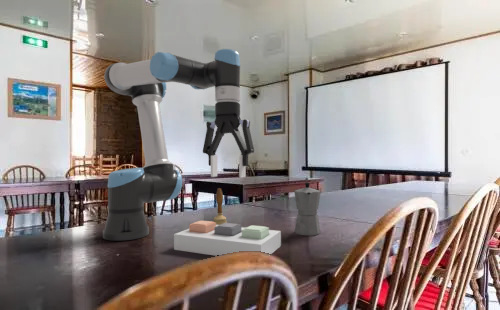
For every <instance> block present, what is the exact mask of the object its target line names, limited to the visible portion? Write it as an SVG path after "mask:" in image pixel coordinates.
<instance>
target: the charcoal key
mask: <svg viewBox="0 0 500 310" xmlns="http://www.w3.org/2000/svg"><path fill="white" fill-rule="evenodd" d="M241 227H242V224H239V223H232V222H231V223H230V222H227V223H223V224H221V225H218V226H216V227H215V234H216V235H225V236H235V235H237V234H239V233H241Z"/></svg>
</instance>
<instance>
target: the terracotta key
mask: <svg viewBox="0 0 500 310" xmlns="http://www.w3.org/2000/svg"><path fill="white" fill-rule="evenodd" d="M188 227H189V228H188V229H189V231H190V232H199V233H208V232H211V231H213V230H215V227H216V222H214V221H211V220H210V221H209V220H198V221H195V222H192V223H190V224H189V225H188Z"/></svg>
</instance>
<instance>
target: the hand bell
mask: <svg viewBox="0 0 500 310" xmlns="http://www.w3.org/2000/svg"><path fill="white" fill-rule="evenodd" d="M215 200H216V205H217V215H216V216H214V217H213V222H216V225H221V224H223V223H228V221H227V217H226V216H224V215H223V201H224V195H223V190H222V188H220V187H219V188H217V190H216V194H215Z"/></svg>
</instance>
